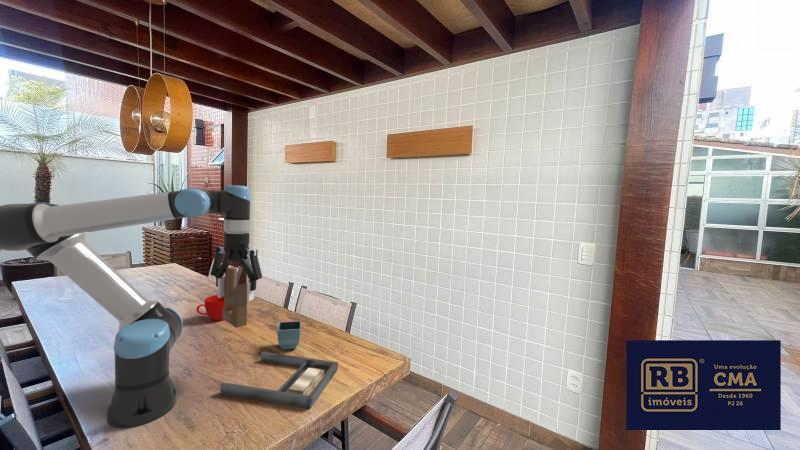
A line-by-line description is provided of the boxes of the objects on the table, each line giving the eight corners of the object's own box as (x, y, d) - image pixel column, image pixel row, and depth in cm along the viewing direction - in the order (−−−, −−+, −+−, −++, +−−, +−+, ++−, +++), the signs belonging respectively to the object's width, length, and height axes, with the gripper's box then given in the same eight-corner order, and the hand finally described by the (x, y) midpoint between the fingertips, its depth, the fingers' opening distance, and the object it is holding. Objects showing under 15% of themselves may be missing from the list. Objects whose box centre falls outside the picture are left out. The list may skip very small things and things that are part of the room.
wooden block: (235, 328, 104) (236, 273, 103) (222, 319, 111) (222, 267, 110) (247, 325, 107) (248, 271, 106) (233, 316, 114) (233, 266, 113)
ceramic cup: (190, 321, 152) (190, 300, 151) (226, 311, 166) (226, 292, 165) (203, 328, 144) (203, 306, 144) (240, 317, 159) (240, 298, 158)
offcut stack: (302, 401, 97) (302, 392, 97) (287, 399, 98) (287, 389, 98) (324, 374, 113) (324, 365, 113) (311, 372, 114) (311, 363, 113)
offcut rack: (310, 408, 93) (310, 398, 93) (220, 394, 98) (220, 384, 98) (337, 370, 115) (337, 362, 115) (262, 359, 120) (262, 351, 119)
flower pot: (276, 352, 125) (276, 330, 125) (278, 343, 134) (279, 321, 133) (300, 351, 128) (300, 329, 127) (300, 341, 136) (301, 320, 136)
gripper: (274, 233, 109) (273, 298, 110) (214, 229, 112) (213, 291, 114) (261, 235, 101) (260, 305, 103) (197, 230, 105) (197, 298, 107)
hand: (235, 298), depth 109 cm, fingers closed on wooden block, 10 cm apart
